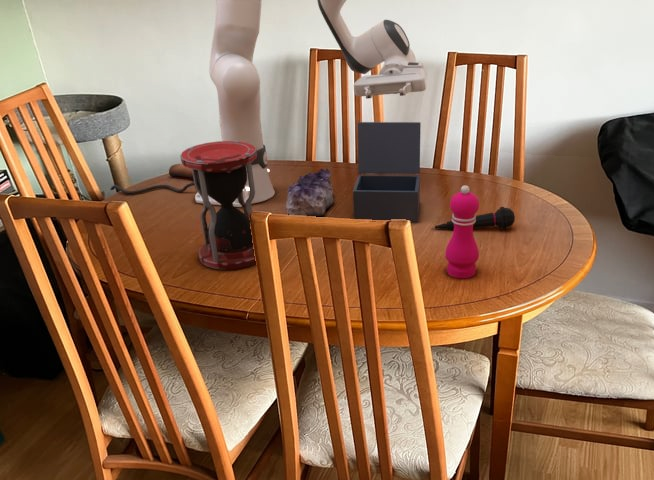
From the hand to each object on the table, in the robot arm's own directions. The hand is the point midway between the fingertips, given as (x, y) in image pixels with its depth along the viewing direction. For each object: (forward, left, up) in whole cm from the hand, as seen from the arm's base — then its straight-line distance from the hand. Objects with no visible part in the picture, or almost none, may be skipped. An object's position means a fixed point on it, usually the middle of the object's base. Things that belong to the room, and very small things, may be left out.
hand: (385, 94), depth 166 cm
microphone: (+25, -24, -28) cm, 44 cm away
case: (+2, -15, -28) cm, 32 cm away
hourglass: (-32, -42, -28) cm, 60 cm away
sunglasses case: (-59, +10, -28) cm, 67 cm away
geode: (-19, -12, -28) cm, 36 cm away
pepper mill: (+21, -48, -28) cm, 59 cm away
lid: (+2, -8, -12) cm, 15 cm away
